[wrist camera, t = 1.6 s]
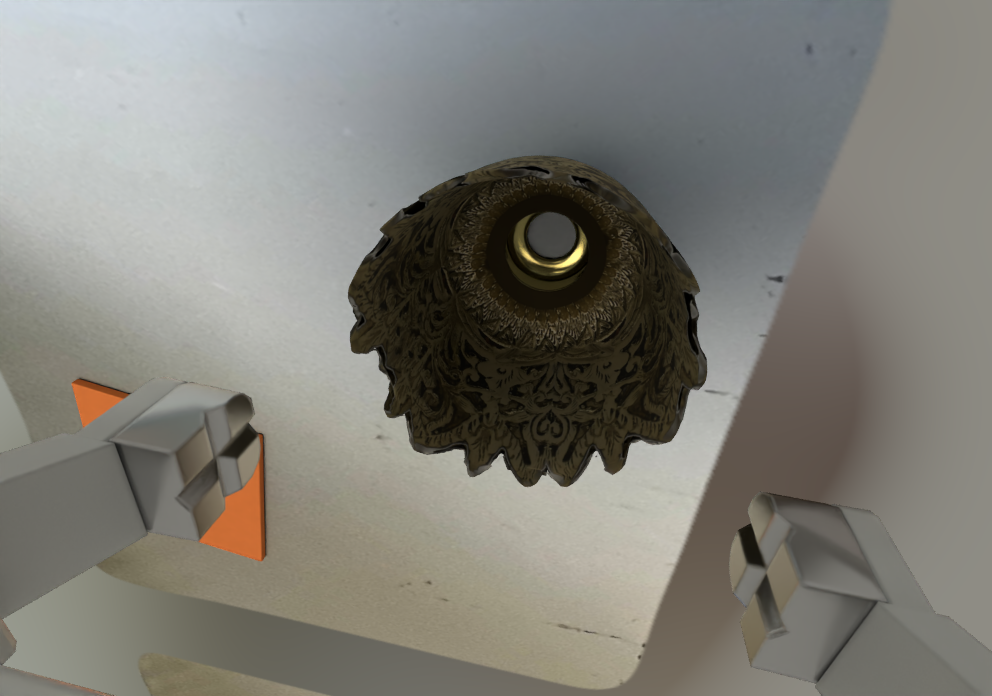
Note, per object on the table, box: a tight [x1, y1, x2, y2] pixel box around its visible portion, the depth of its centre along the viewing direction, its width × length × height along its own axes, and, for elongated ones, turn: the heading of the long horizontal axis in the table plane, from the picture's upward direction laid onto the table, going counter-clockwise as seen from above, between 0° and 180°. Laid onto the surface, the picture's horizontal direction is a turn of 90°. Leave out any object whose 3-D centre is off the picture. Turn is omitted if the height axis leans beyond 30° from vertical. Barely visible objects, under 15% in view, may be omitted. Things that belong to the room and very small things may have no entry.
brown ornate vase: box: [348, 156, 707, 487], centre depth 14 cm, size 8×7×8 cm
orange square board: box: [72, 379, 265, 561], centre depth 27 cm, size 10×10×1 cm
